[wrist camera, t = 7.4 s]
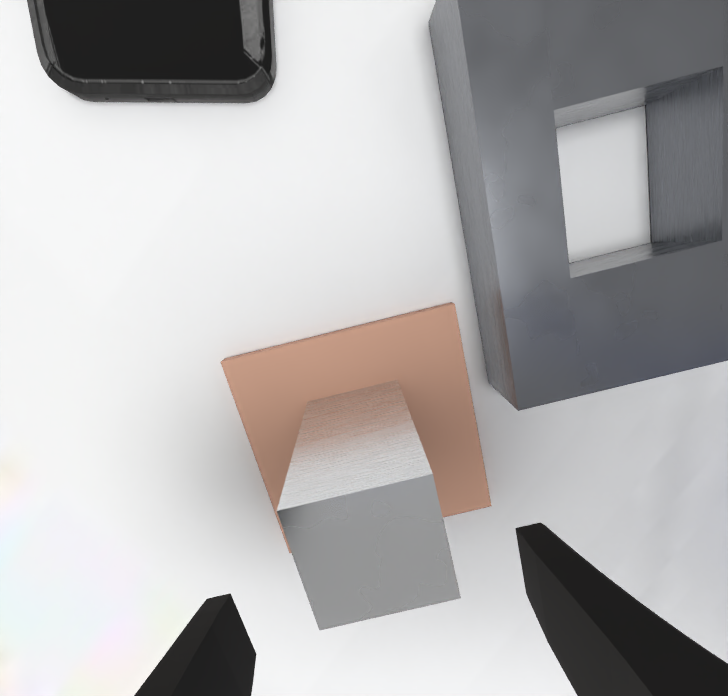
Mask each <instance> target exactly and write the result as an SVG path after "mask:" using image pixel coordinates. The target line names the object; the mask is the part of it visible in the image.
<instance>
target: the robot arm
mask: <svg viewBox="0 0 728 696" xmlns="http://www.w3.org/2000/svg"><path fill="white" fill-rule="evenodd" d="M516 534H517V540H518V546H519V552H520V558H521V564H522V570H523V576H524V582H525V588H526V594H527V596H528V598H529V601H530V603H531V605H532V608H533V610H534V612H535V614H536V617H537V619H538V621H539V623H540V625H541V628H542V630H543V632H544V634H545V636H546V639H547V641H548V643H549V645H550V647H551V649H552V650H553V652H554V654H555V656H556V658H557V659H558V661H559V663H560V665H561V667H562V668H563V670H564V672H565V674H566V676H567V677H568V679H569V681H570V683H571V685H572V686H573V688H574V690H575V692H576V694H577V695H578V696H728V664H727V663H726V662H724V661H723V660H721V659H720V658H718V657H717V656H715V655H714V654H712V653H711V652H709V651H708V650H706V649H705V648H703V647H702V646H701V645H699V644H698V643H696V642H695V641H693V640H692V639H690V638H689V637H687V636H686V635H685V634H683V633H682V632H680V631H679V630H678V629H676V628H675V627H673V626H672V625H671V624H669V623H668V622H666V621H665V620H663V619H662V618H661V617H659V616H658V615H657V614H655V613H654V612H652V611H651V610H650V609H648V608H647V607H646V606H644V605H643V604H642V603H640V602H639V601H638V600H636V599H635V598H634V597H632V596H631V595H630V594H629V593H627V592H626V591H625V590H623V589H622V588H621V587H619V586H618V585H617V584H615V583H614V582H613V581H612V580H610V579H609V578H608V577H606V576H605V575H604V574H603V573H601V572H600V571H599V570H598V569H596V568H595V567H594V566H593V565H591V564H590V563H589V562H588V561H587V560H585V559H584V558H583V557H582V556H580V555H579V554H578V553H577V552H576V551H574V550H573V549H572V548H571V547H570V546H568V545H567V544H566V543H565V542H564V541H563V540H561V539H560V538H559V537H558V536H557V535H556V534H554V533H553V532H552V531H551V530H550V529H549V528H547V527H546V526H545V525H543V524H542V523H536V524H532V525H528V526H523V527H519V528H516ZM255 660H256V652H255V650H254V648H253V645H252V643H251V641H250V638H249V636H248V634H247V631H246V629H245V627H244V624H243V622H242V620H241V617H240V615H239V612H238V610H237V608H236V605H235V603H234V601H233V598H232V596H231V594H226V595H222V596H217V597H213V598H209V599H207V600H206V601H205V602H204V603H203V605H202V606H201V607H200V608H199V610H198V611H197V612H196V614H195V615H194V616H193V618H192V619H191V620H190V622H189V623H188V624H187V626H186V627H185V628H184V630H183V631H182V633H181V634H180V635H179V637H178V638H177V639H176V641H175V642H174V643H173V645H172V646H171V647H170V649H169V650H168V651H167V653H166V654H165V656H164V657H163V658H162V660H161V661H160V662H159V664H158V665H157V666H156V667H155V669H154V670H153V671H152V673H151V674H150V675H149V677H148V678H147V679H146V681H145V682H144V683H143V685H142V686H141V687H140V689H139V690H138V691H137V693H136V694H135V695H134V696H251V692H252V685H253V677H254V668H255Z"/></svg>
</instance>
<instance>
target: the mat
mask: <svg viewBox="0 0 728 696" xmlns="http://www.w3.org/2000/svg"><path fill="white" fill-rule="evenodd" d="M221 364H222V367H223V370H224V373H225V376H226V378H227V381H228V384H229V387H230V389H231V392H232V395H233V398H234V400H235V403H236V406H237V409H238V411H239V414H240V417H241V420H242V423H243V425H244V428H245V431H246V434H247V436H248V439H249V442H250V445H251V447H252V450H253V453H254V456H255V458H256V461H257V464H258V467H259V470H260V472H261V475H262V478H263V481H264V483H265V486H266V489H267V492H268V494H269V497H270V500H271V503H272V505H273V508H274V511H275V514H276V517H277V519H278V522H279V525H280V528H281V530H282V533H283V536H284V539H285V541H286V544H287V547H288V550H289V552H290V553H292V552H291V550H290V547H289V544H288V541H287V538H286V536H285V533H284V530H283V527H282V525H281V522H280V519H279V516H278V513H277V508H278V504H279V501H280V497H281V494H282V490H283V487H284V483H285V479H286V476H287V472H288V469H289V465H290V462H291V458H292V455H293V451H294V448H295V444H296V440H297V437H298V433H299V430H300V426H301V423H302V419H303V416H304V412H305V409H306V405H307V401H312V400H316V399H320V398H324V397H328V396H332V395H336V394H340V393H344V392H348V391H352V390H357V389H361V388H365V387H369V386H373V385H377V384H381V383H385V382H389V381H393V380H398V383H399V385H400V388H401V391H402V393H403V396H404V399H405V401H406V404H407V407H408V409H409V412H410V415H411V417H412V420H413V423H414V425H415V428H416V430H417V433H418V436H419V438H420V441H421V444H422V446H423V449H424V452H425V454H426V457H427V460H428V462H429V465H430V468H431V470H432V473H433V477H434V481H435V486H436V490H437V495H438V499H439V504H440V508H441V513H442V517H447V516H451V515H455V514H460V513H464V512H468V511H472V510H477V509H481V508H485V507H490V506H491V501H490V496H489V490H488V485H487V479H486V474H485V468H484V463H483V457H482V452H481V446H480V441H479V435H478V430H477V424H476V419H475V413H474V408H473V402H472V397H471V391H470V386H469V380H468V375H467V369H466V364H465V358H464V353H463V347H462V342H461V336H460V331H459V325H458V320H457V314H456V309H455V304H454V303H452V302H451V303H447V304H443V305H439V306H435V307H431V308H427V309H423V310H419V311H415V312H411V313H407V314H403V315H399V316H395V317H391V318H387V319H383V320H379V321H375V322H370V323H366V324H362V325H358V326H354V327H350V328H346V329H342V330H338V331H334V332H330V333H326V334H322V335H318V336H314V337H310V338H306V339H302V340H298V341H294V342H290V343H286V344H282V345H278V346H274V347H270V348H266V349H262V350H258V351H254V352H250V353H246V354H242V355H238V356H234V357H230V358H226V359H224V360H223V361H221Z"/></svg>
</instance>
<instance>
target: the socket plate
mask: <svg viewBox="0 0 728 696" xmlns="http://www.w3.org/2000/svg"><path fill="white" fill-rule="evenodd" d="M429 27H430V33H431V39H432V45H433V51H434V57H435V63H436V69H437V75H438V81H439V87H440V93H441V99H442V105H443V111H444V117H445V123H446V129H447V135H448V141H449V147H450V153H451V159H452V165H453V171H454V177H455V183H456V189H457V195H458V201H459V207H460V213H461V219H462V225H463V231H464V237H465V243H466V249H467V255H468V261H469V267H470V273H471V279H472V285H473V291H474V297H475V303H476V309H477V315H478V321H479V327H480V333H481V339H482V345H483V351H484V357H485V363H486V369H487V375H488V381H489V384H490V385H492V386H493V387H494V388H495V389H496V390H497V391H498V392H499V393H500V394H501V395H502V396H503V397H504V398H505V399H506V400H508V401H509V402H510V403H511V404H512V405H513V406H514V407H515V408H516V409H517V410H518V411H519V410H523V409H527V408H531V407H536V406H540V405H544V404H548V403H552V402H556V401H561V400H565V399H569V398H573V397H577V396H581V395H586V394H590V393H594V392H598V391H602V390H606V389H611V388H615V387H619V386H623V385H627V384H631V383H635V382H640V381H644V380H648V379H652V378H656V377H660V376H665V375H669V374H673V373H677V372H681V371H685V370H690V369H694V368H698V367H702V366H706V365H710V364H715V363H719V362H723V361H727V360H728V0H436V3H435V6H434V8H433V11H432V14H431V17H430V20H429ZM643 105H646V116H647V140H648V164H649V189H650V213H651V237H652V243H649V244H645V245H641V246H637V247H633V248H629V249H625V250H621V251H617V252H613V253H609V254H605V255H601V256H597V257H593V258H589V259H585V260H581V261H577V262H573V263H569V259H568V249H567V239H566V229H565V219H564V208H563V198H562V188H561V178H560V168H559V158H558V148H557V137H556V128H558V127H562V126H565V125H569V124H573V123H577V122H581V121H585V120H589V119H592V118H596V117H600V116H604V115H608V114H612V113H616V112H620V111H623V110H627V109H631V108H635V107H639V106H643Z"/></svg>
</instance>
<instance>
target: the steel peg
mask: <svg viewBox="0 0 728 696" xmlns="http://www.w3.org/2000/svg"><path fill="white" fill-rule="evenodd" d="M277 513H278V516H279V519H280V522H281V525H282V527H283V530H284V533H285V536H286V538H287V541H288V544H289V547H290V550H291V552H292V555H293V558H294V561H295V563H296V566H297V569H298V572H299V575H300V577H301V580H302V583H303V586H304V588H305V591H306V594H307V597H308V599H309V602H310V605H311V608H312V611H313V613H314V616H315V619H316V622H317V624H318V627H319V630H323V629H328V628H332V627H336V626H341V625H345V624H350V623H354V622H358V621H363V620H367V619H371V618H376V617H380V616H384V615H389V614H393V613H398V612H402V611H406V610H411V609H415V608H419V607H424V606H428V605H433V604H437V603H441V602H446V601H450V600H454V599H459V598H461V597H460V593H459V588H458V584H457V579H456V575H455V571H454V566H453V562H452V557H451V553H450V548H449V544H448V539H447V535H446V530H445V526H444V522H443V517H442V513H441V508H440V504H439V499H438V495H437V490H436V486H435V481H434V477H433V473H432V470H431V468H430V465H429V462H428V460H427V457H426V454H425V452H424V449H423V446H422V444H421V441H420V438H419V436H418V433H417V430H416V428H415V425H414V423H413V420H412V417H411V415H410V412H409V409H408V407H407V404H406V401H405V399H404V396H403V393H402V391H401V388H400V385H399V383H398V380H393V381H389V382H385V383H381V384H377V385H373V386H369V387H365V388H361V389H357V390H352V391H348V392H344V393H340V394H336V395H332V396H328V397H324V398H320V399H316V400H312V401H307V405H306V409H305V412H304V416H303V419H302V423H301V426H300V430H299V433H298V437H297V440H296V444H295V448H294V451H293V455H292V458H291V462H290V465H289V469H288V472H287V476H286V479H285V483H284V487H283V490H282V494H281V497H280V501H279V504H278V508H277Z"/></svg>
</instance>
